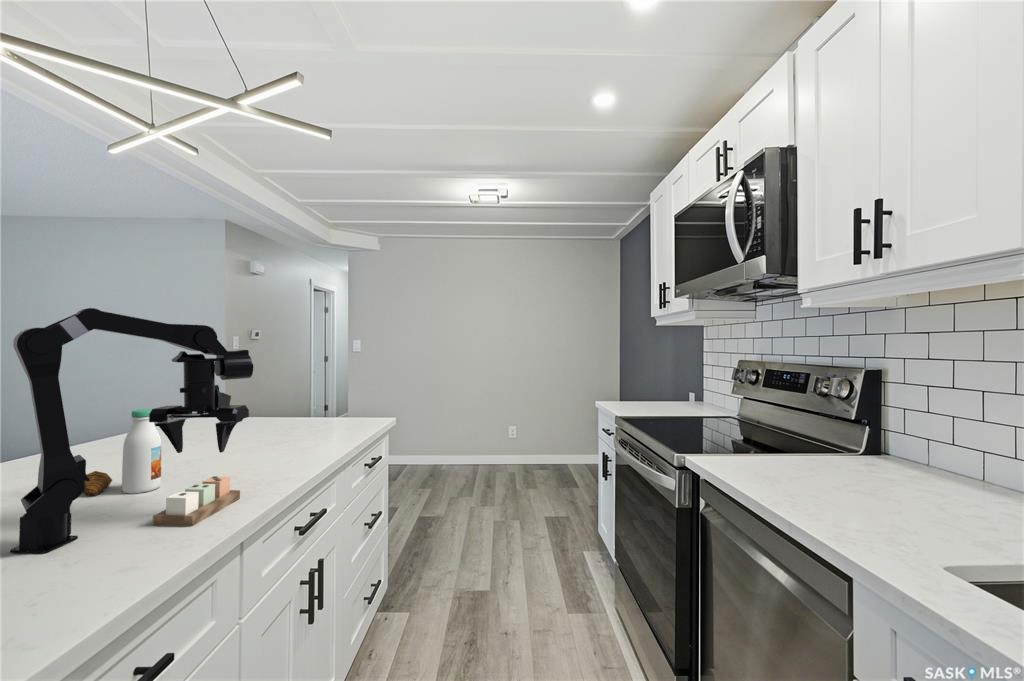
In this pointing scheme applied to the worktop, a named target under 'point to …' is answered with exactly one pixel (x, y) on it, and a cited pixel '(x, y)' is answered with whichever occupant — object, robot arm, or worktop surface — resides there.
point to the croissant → (96, 483)
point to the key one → (182, 503)
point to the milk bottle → (141, 455)
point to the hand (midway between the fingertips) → (200, 452)
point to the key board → (196, 512)
